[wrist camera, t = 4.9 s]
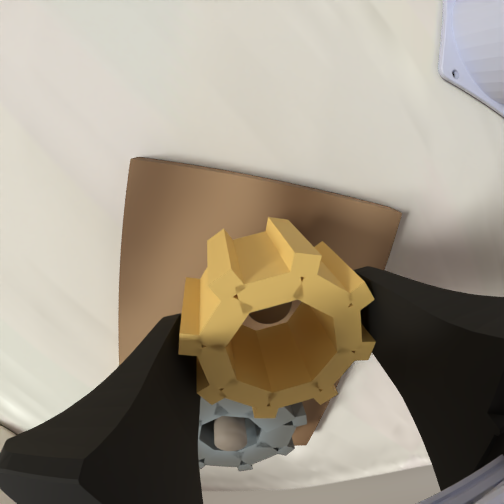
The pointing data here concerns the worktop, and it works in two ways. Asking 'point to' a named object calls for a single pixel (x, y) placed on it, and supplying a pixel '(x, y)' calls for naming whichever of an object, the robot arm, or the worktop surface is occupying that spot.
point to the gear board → (195, 263)
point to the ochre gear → (279, 336)
